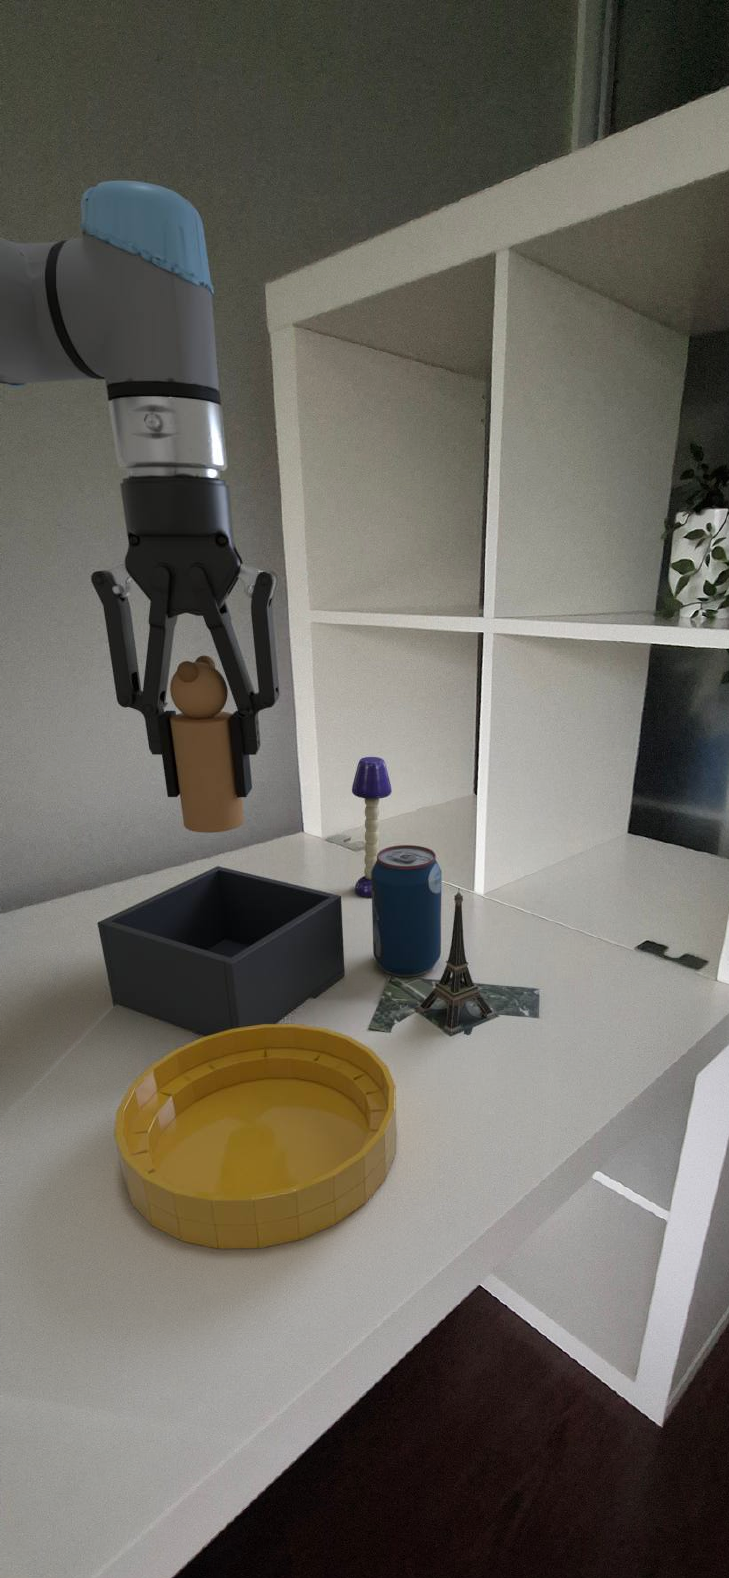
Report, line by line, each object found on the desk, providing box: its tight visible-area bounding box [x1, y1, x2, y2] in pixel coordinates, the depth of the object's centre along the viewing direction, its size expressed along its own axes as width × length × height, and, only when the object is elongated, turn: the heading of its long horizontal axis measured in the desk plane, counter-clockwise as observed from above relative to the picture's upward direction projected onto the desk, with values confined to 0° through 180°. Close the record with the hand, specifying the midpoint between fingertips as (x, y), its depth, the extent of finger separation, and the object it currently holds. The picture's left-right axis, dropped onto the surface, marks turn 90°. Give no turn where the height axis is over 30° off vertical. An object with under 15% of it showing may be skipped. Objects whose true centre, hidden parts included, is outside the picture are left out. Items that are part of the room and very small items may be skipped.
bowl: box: [114, 1023, 397, 1250], centre depth 57 cm, size 19×19×4 cm
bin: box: [96, 865, 346, 1037], centre depth 76 cm, size 16×16×9 cm
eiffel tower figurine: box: [368, 889, 541, 1038], centre depth 71 cm, size 15×10×13 cm
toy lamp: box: [351, 756, 393, 898], centre depth 96 cm, size 5×5×17 cm
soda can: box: [371, 844, 443, 978], centre depth 80 cm, size 7×7×12 cm
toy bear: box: [169, 654, 245, 834], centre depth 66 cm, size 5×5×14 cm
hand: (210, 791), depth 67 cm, fingers closed on toy bear, 5 cm apart
